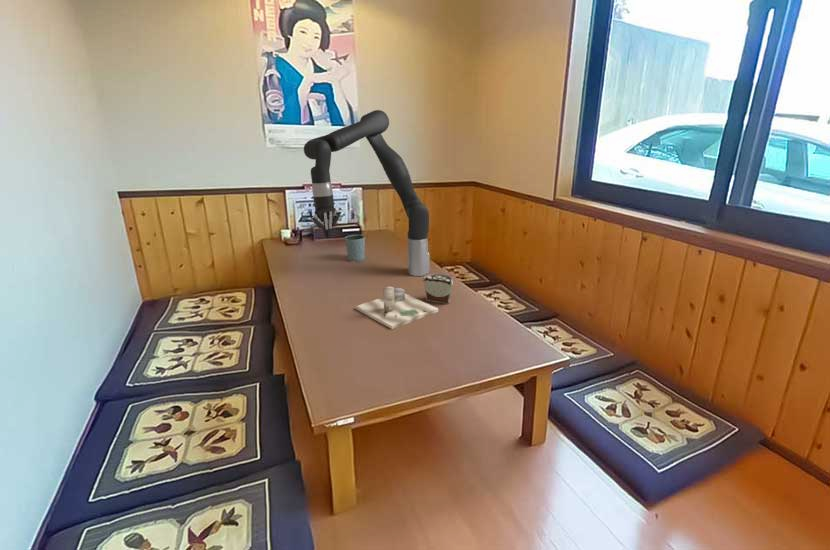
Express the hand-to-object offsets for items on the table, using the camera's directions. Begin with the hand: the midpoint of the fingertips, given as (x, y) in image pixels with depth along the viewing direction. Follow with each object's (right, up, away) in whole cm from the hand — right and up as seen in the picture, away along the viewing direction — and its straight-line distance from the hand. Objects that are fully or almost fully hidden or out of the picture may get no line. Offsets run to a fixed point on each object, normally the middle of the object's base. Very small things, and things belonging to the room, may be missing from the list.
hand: (328, 238), depth 174 cm
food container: (+44, -25, +3) cm, 51 cm away
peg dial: (+26, -26, -4) cm, 37 cm away
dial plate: (+27, -28, -6) cm, 40 cm away
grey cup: (+4, -7, +55) cm, 55 cm away
